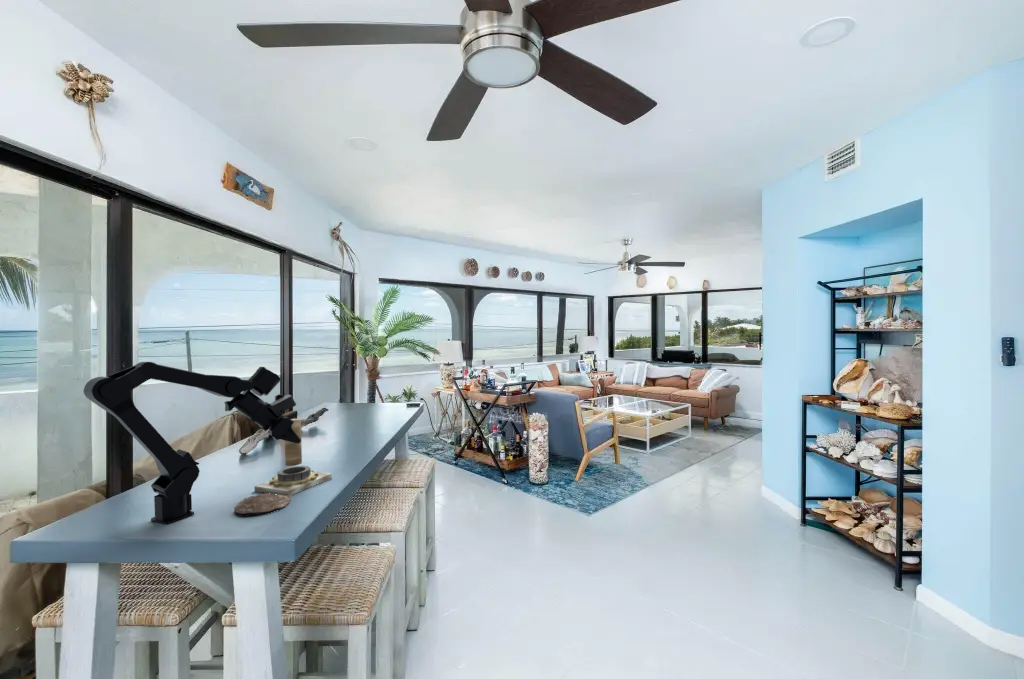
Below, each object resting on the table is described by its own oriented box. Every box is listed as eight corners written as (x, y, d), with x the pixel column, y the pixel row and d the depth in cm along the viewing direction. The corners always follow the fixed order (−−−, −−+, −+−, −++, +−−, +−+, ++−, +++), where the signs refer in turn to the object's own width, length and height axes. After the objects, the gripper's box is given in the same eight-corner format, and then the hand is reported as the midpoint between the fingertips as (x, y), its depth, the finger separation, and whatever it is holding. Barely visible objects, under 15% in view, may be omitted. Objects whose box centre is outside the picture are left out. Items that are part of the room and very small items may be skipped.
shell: (284, 514, 111) (283, 500, 111) (226, 521, 107) (226, 506, 107) (293, 498, 122) (293, 485, 122) (241, 503, 118) (241, 490, 118)
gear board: (287, 496, 122) (287, 481, 122) (254, 491, 127) (254, 476, 127) (331, 478, 137) (331, 464, 136) (300, 474, 142) (300, 460, 141)
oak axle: (292, 466, 129) (291, 421, 128) (281, 465, 130) (280, 421, 130) (305, 462, 133) (304, 419, 132) (294, 461, 134) (293, 418, 134)
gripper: (284, 389, 121) (327, 423, 129) (269, 384, 136) (309, 415, 143) (252, 421, 117) (298, 455, 124) (240, 413, 131) (282, 443, 138)
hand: (298, 440), depth 132 cm, fingers closed on oak axle, 4 cm apart
